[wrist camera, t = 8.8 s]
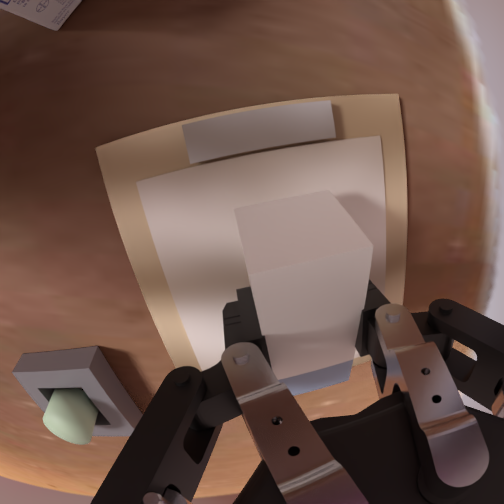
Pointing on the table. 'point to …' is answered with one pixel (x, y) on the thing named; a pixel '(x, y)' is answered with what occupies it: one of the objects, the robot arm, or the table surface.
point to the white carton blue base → (306, 285)
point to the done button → (71, 415)
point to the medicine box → (42, 10)
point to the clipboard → (249, 201)
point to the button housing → (80, 385)
